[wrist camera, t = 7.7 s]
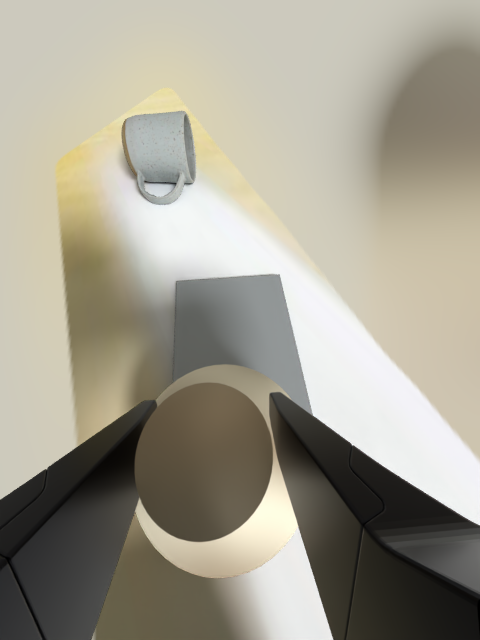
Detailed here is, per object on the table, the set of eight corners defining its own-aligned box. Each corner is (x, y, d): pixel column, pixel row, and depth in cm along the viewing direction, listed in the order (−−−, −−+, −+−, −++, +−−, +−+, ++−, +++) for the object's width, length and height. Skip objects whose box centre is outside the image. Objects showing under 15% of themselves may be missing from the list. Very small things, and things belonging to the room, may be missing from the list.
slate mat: (330, 503, 16) (334, 505, 16) (169, 526, 15) (167, 528, 15) (278, 277, 26) (279, 274, 25) (178, 284, 25) (176, 281, 25)
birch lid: (331, 548, 12) (602, 820, 3) (128, 587, 11) (-277, 1105, 2) (286, 360, 17) (343, 262, 8) (142, 378, 16) (31, 289, 7)
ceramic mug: (145, 163, 36) (124, 99, 30) (197, 164, 37) (189, 100, 30) (131, 208, 31) (103, 143, 25) (192, 208, 32) (181, 144, 25)
